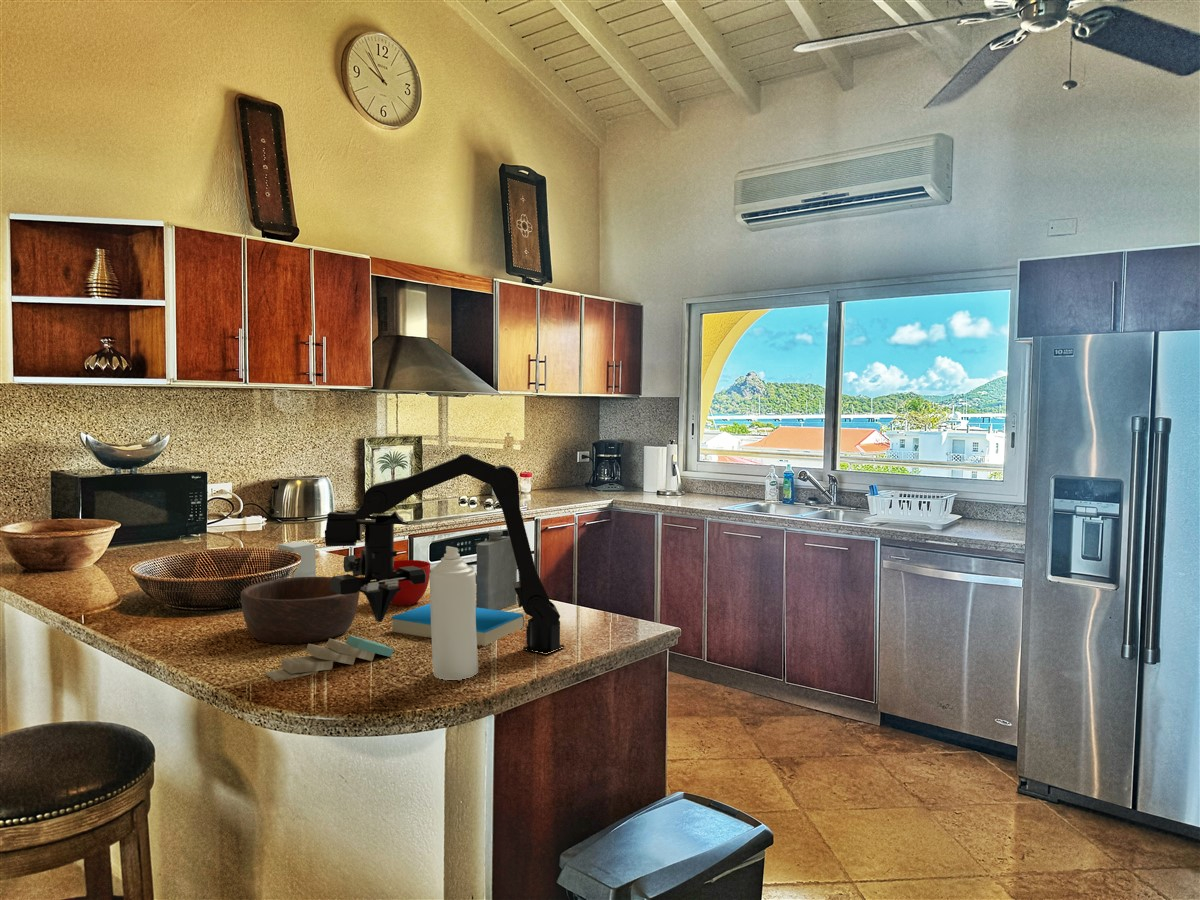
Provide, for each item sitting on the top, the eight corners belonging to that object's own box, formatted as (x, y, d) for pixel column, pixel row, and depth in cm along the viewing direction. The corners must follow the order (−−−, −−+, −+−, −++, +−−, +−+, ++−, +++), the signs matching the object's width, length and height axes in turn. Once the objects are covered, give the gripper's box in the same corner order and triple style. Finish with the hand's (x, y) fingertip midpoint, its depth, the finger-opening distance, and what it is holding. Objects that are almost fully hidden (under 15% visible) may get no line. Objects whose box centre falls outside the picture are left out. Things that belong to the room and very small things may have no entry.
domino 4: (364, 647, 166) (329, 638, 161) (375, 653, 162) (340, 644, 157) (361, 655, 166) (326, 646, 160) (372, 661, 162) (336, 652, 157)
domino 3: (344, 650, 163) (308, 643, 158) (355, 656, 159) (319, 649, 154) (341, 658, 163) (305, 651, 158) (353, 664, 159) (316, 657, 154)
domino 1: (307, 664, 158) (265, 672, 153) (318, 670, 154) (275, 679, 149) (307, 672, 158) (265, 680, 153) (318, 678, 154) (275, 687, 149)
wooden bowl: (226, 651, 168) (225, 601, 167) (257, 619, 192) (257, 577, 192) (351, 647, 171) (351, 599, 171) (366, 617, 196) (366, 575, 196)
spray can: (493, 679, 152) (494, 547, 151) (441, 690, 146) (441, 552, 145) (466, 663, 161) (467, 538, 160) (415, 672, 155) (416, 543, 154)
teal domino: (390, 657, 165) (357, 648, 160) (379, 651, 168) (345, 642, 163) (393, 649, 165) (360, 640, 160) (382, 643, 169) (348, 634, 164)
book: (485, 630, 173) (390, 615, 183) (485, 650, 173) (390, 634, 183) (525, 612, 188) (435, 599, 198) (524, 631, 188) (435, 616, 199)
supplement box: (300, 584, 230) (300, 540, 230) (316, 588, 226) (316, 543, 225) (277, 589, 224) (276, 543, 224) (292, 593, 220) (292, 546, 219)
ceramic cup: (443, 595, 220) (443, 558, 220) (418, 610, 203) (418, 570, 203) (398, 592, 222) (398, 556, 222) (370, 607, 206) (370, 568, 205)
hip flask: (484, 616, 198) (485, 535, 197) (470, 614, 199) (471, 534, 198) (518, 603, 212) (519, 527, 211) (505, 601, 214) (506, 526, 213)
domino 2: (322, 654, 160) (281, 658, 155) (333, 661, 156) (291, 664, 151) (321, 663, 160) (280, 666, 154) (332, 669, 156) (290, 673, 151)
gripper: (401, 536, 177) (401, 607, 177) (318, 544, 164) (318, 621, 165) (427, 543, 168) (427, 617, 169) (341, 552, 156) (341, 632, 157)
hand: (379, 621), depth 165 cm, fingers closed
